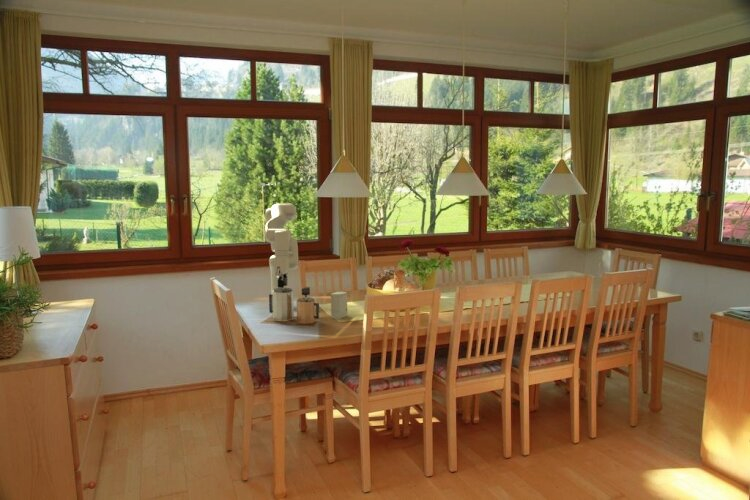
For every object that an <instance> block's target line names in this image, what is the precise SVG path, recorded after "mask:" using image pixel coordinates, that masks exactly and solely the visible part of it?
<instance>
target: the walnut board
mask: <svg viewBox="0 0 750 500" xmlns="http://www.w3.org/2000/svg"><path fill="white" fill-rule="evenodd" d="M324 319H325V317H319V318H318V319H316V318H315V323H312V324H299V323H297V315H294V318H293V320H292V321H288V322H277V321H274V320H273V314H272V315H271V316H270V317H267V318H266V319H264V320H263V321H261V322H260V324H271V325H283V326H284V325H285V326H296V327H297V326H298V327H312V328H313V327H315V326H317V325H318V324H319V323H321V322H322V321H323V320H324Z"/></svg>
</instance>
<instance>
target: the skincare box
mask: <svg viewBox="0 0 750 500" xmlns="http://www.w3.org/2000/svg"><path fill="white" fill-rule="evenodd" d="M330 317H331V319H336V320H340V319H342V318H346V317H348V292H347V291H335V292H333V293H330Z"/></svg>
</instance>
